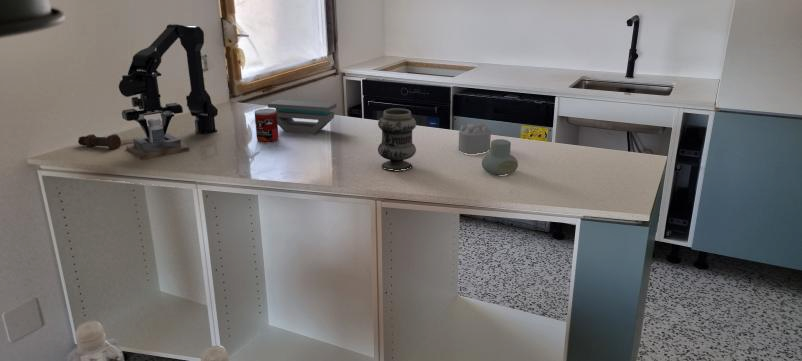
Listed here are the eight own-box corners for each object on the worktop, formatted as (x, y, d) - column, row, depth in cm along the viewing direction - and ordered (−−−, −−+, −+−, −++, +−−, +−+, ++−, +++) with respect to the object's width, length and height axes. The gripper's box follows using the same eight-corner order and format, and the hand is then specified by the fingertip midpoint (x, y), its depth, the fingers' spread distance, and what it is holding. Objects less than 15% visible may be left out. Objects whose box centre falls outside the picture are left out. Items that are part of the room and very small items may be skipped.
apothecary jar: (403, 175, 181) (403, 117, 175) (370, 168, 187) (369, 112, 181) (423, 164, 191) (423, 109, 185) (391, 159, 197) (390, 105, 191)
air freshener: (491, 179, 178) (492, 147, 174) (476, 171, 185) (478, 140, 181) (521, 174, 182) (524, 143, 178) (506, 166, 189) (508, 136, 186)
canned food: (252, 142, 217) (250, 112, 213) (265, 136, 224) (262, 107, 220) (270, 144, 214) (268, 114, 211) (282, 138, 221) (280, 109, 218)
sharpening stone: (337, 130, 232) (336, 103, 228) (329, 136, 225) (328, 107, 221) (279, 126, 239) (277, 99, 235) (269, 131, 232) (267, 103, 228)
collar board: (172, 140, 219) (171, 131, 218) (189, 150, 207) (188, 140, 206) (127, 148, 209) (125, 138, 208) (142, 159, 198) (140, 148, 196)
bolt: (84, 150, 215) (119, 152, 211) (73, 146, 210) (109, 148, 206) (87, 134, 216) (122, 136, 212) (77, 130, 211) (112, 132, 207)
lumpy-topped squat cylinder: (491, 146, 211) (493, 122, 208) (485, 156, 199) (486, 131, 196) (463, 144, 214) (463, 120, 211) (454, 154, 202) (455, 129, 199)
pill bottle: (169, 143, 209) (165, 118, 206) (158, 147, 204) (155, 121, 201) (156, 141, 211) (153, 117, 208) (146, 145, 206) (142, 120, 203)
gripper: (168, 84, 213) (174, 127, 218) (113, 91, 202) (121, 135, 207) (180, 89, 205) (186, 133, 210) (123, 96, 193) (131, 142, 199)
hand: (156, 135), depth 207 cm, fingers closed on pill bottle, 5 cm apart
